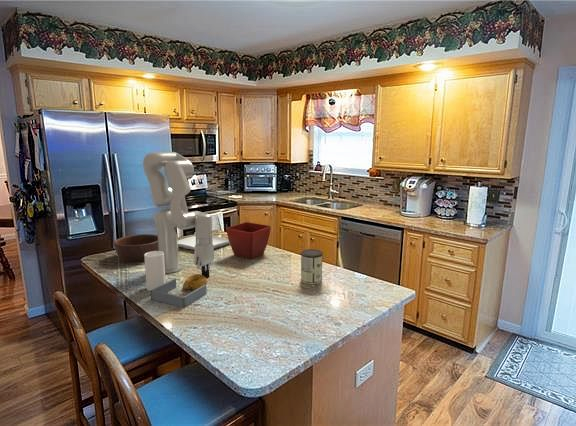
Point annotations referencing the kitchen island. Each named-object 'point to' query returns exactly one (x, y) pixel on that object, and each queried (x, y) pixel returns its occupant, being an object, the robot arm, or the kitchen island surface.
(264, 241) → the plant pot
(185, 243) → the square plate
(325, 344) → the kitchen island surface
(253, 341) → the kitchen island surface
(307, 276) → the coffee can
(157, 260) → the cup
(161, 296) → the box
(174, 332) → the kitchen island surface
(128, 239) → the wooden bowl
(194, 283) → the bagel
